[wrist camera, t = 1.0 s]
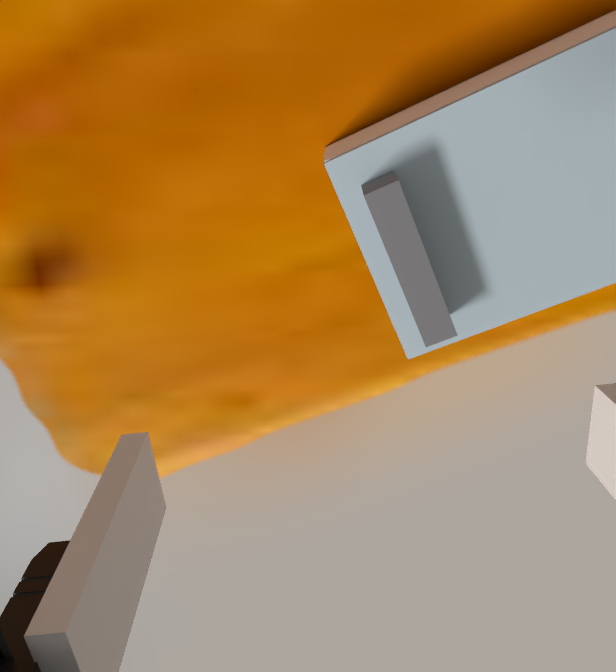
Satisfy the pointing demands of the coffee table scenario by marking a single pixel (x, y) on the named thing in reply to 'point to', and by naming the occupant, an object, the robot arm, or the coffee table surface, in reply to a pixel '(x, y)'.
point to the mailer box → (473, 84)
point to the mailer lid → (491, 200)
